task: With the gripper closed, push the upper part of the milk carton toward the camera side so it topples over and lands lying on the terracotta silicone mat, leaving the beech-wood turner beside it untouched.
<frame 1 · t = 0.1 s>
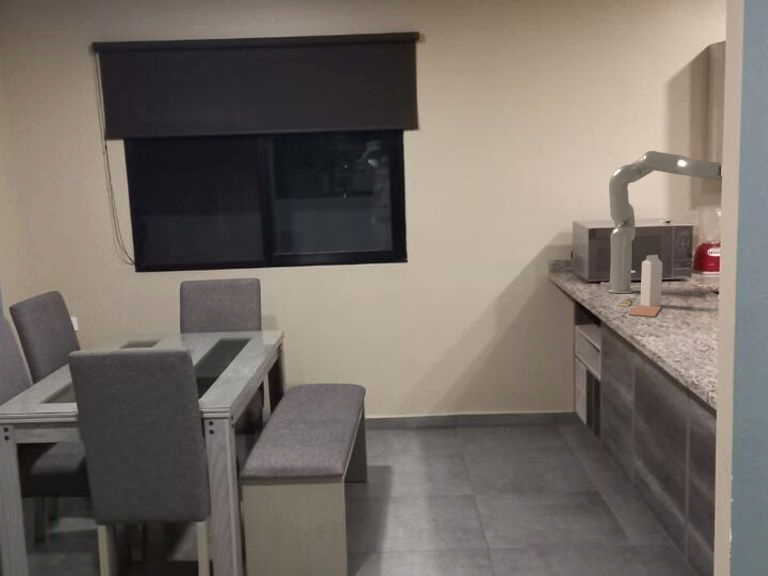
hand: (726, 228, 336), 31 cm above the countertop, fingers open, 9 cm apart
turner: (626, 304, 332), on the countertop
mat: (645, 311, 314), on the countertop
milk: (650, 305, 327), on the countertop
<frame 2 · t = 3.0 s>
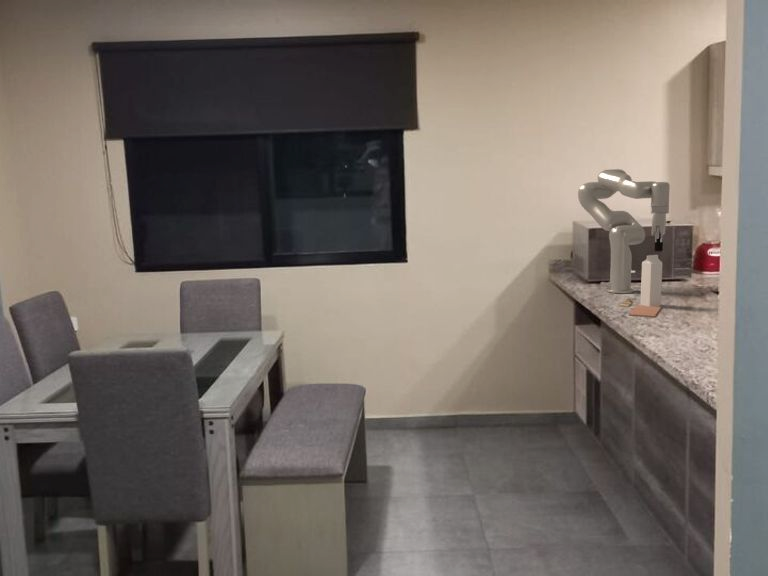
hand: (658, 251, 338), 22 cm above the countertop, fingers closed
nothing on the countertop moved.
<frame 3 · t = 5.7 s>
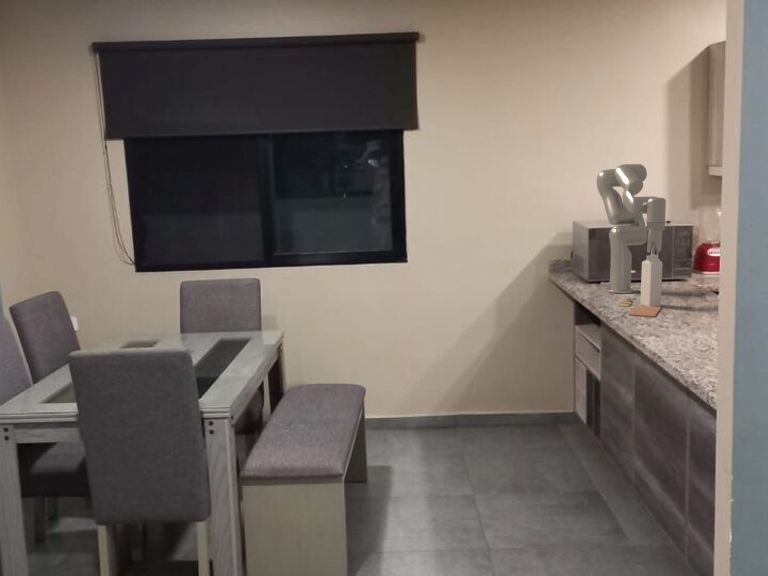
hand: (654, 268, 330), 16 cm above the countertop, fingers closed
milk: (650, 305, 327), on the countertop, touching gripper
everything else where it was.
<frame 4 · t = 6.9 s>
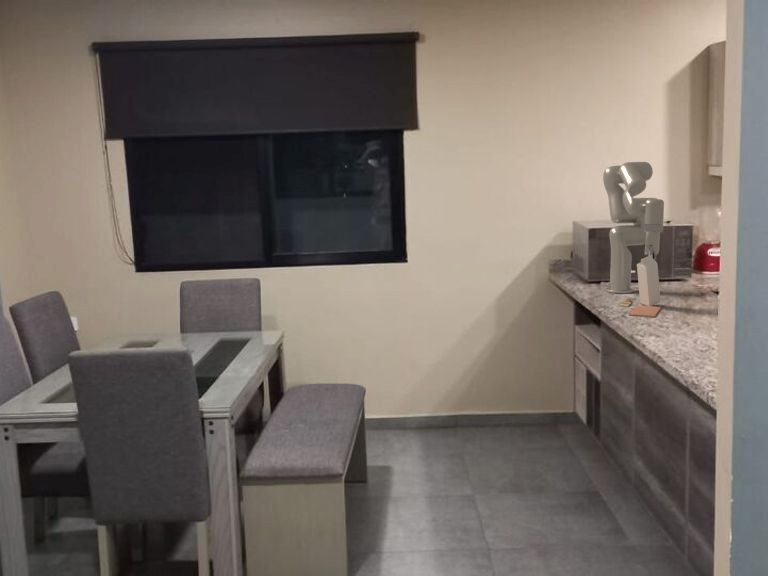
hand: (651, 270, 325), 15 cm above the countertop, fingers closed
milk: (650, 302, 327), point 1 cm above the countertop
everything else where it was.
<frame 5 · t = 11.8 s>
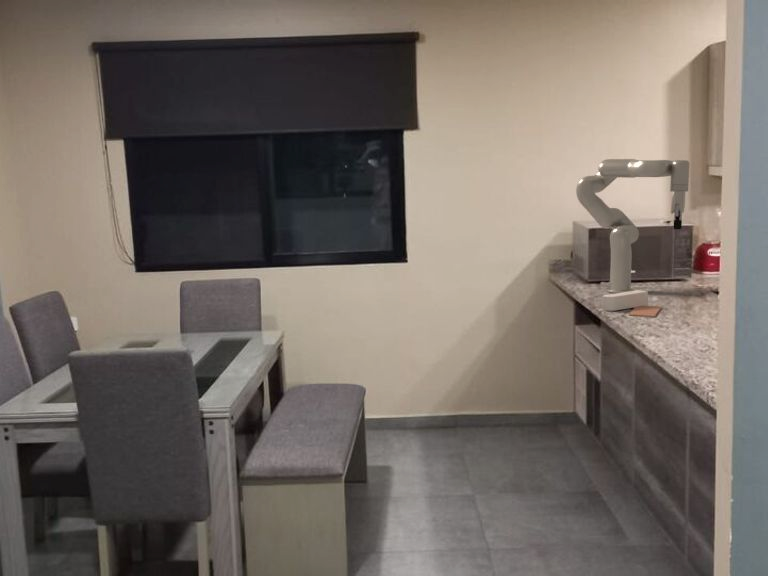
hand: (677, 229, 341), 31 cm above the countertop, fingers closed
turner: (627, 304, 332), on the countertop, touching milk
milk: (643, 297, 326), point 4 cm above the countertop, touching mat, turner
at the end: milk tilted 92°; milk inside the target area (4.7 cm from its centre), point 3.7 cm above the countertop; turner moved 0.6 cm from its start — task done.
